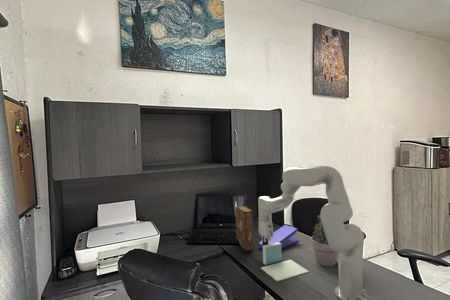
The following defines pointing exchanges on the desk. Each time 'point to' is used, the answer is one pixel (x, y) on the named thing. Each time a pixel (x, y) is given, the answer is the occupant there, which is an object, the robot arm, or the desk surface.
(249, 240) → the book
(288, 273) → the desk mat
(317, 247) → the potted plant
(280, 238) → the stapler
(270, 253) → the tile
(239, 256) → the desk surface
